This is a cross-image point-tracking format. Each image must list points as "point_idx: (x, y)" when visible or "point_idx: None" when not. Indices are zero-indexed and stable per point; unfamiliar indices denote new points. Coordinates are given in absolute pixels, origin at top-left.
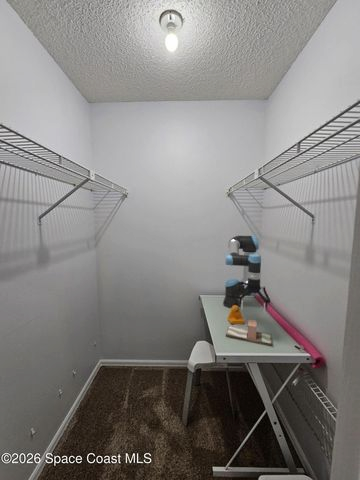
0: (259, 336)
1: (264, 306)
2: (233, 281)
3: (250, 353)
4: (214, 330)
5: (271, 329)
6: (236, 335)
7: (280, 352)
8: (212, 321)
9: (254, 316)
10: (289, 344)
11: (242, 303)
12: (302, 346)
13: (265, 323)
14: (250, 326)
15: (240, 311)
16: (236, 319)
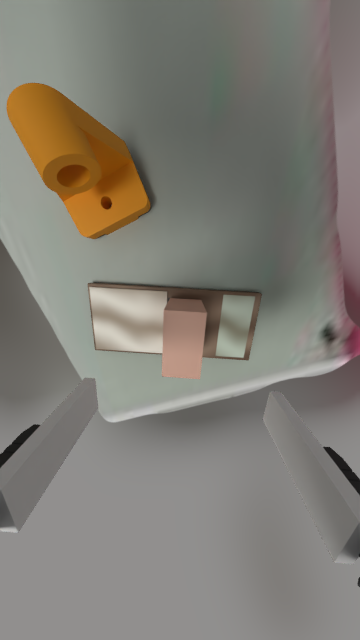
0: (210, 324)
1: (305, 494)
2: None
3: (178, 402)
4: (50, 316)
5: (274, 221)
6: (130, 349)
7: (262, 376)
8: (9, 239)
9: (206, 48)
10: (309, 325)
11: (56, 470)
12: (351, 324)
13: (259, 152)
14: (173, 375)
15: (99, 166)
16: (104, 197)
